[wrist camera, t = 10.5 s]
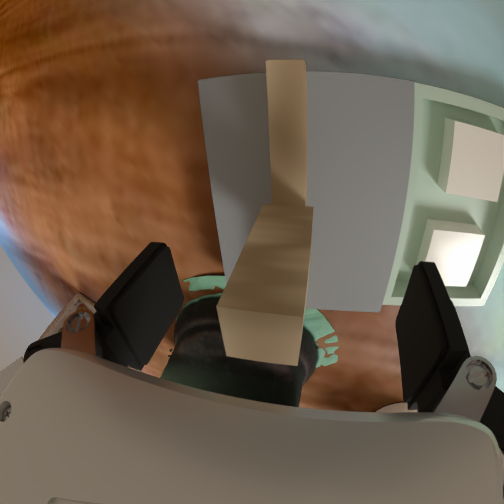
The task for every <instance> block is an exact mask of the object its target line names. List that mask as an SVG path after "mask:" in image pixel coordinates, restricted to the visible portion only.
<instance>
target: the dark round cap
mask: <svg viewBox="0 0 504 504" xmlns="http://www.w3.org/2000/svg"><path fill="white" fill-rule="evenodd" d="M188 280H189V281H190V286H189V290H190V291H198V290H205V289H212V290H213V289H214V288H215V286H218V287H219V288H221V289H223V290H224V289H225V287H226V279H225V276H201V277H193V278H189V279H186V280H183V281H184V282H187V281H188ZM221 295H222V293H217V294H213V295H206V296H201V297H200V298H197V299H195V300H192V301H190V302H188V303H187V304H186V305H184V308H183V309H182V311H181V312H180V313H179V315H178V316H177V318H176V325H175V330H174V343H175V348H174V350H173V352H172V355H168V357H170V359H169V360H168V363H167V366H166V367H165V369H164V371H163V373H162V375H161V377H160V378H161V379H164V380H168V381H171V382H175V383H178V384H182V385H185V386H189V387H193V388H197V389H201V390H205V391H209V392H213V393H218V394H222V395H227V396H232V397H237V398H242V399H247V400H252V401H258V402H264V403H271V404H277V405H284V406H292V407H299V402H300V397H301V390H302V385H304V384H305V383H306V382H307V381H308V379H309V378H310V376H311V375H312V374H313V372H314V371H315V368H316V367H320V365H322V366H327V365H330V364H332V363H335V362H337V359H338V356H337V355H335V354H334V355H331V356H330V357H329V358H325V357H324V355H325V350H327V351H328V352H327V354H333V353H334V351H335V350H336V349H337V348H339V347H338V346H335V347H327V348H325V350H323V349H321V348H318V344H319V343H317V344H315V341H316V340H318V339H319V338H321V337H323V336H325V335H327V334H330V333H333V332H334V329H333V328H332V326H331V325H330V324H329V322H328V321H327V320H326V318H325V317H324V316H323V314H322V313H320V312H319V311H318V310H317V309H310V308H305V315H304V323H303V331H302V338H301V346H300V353H299V359H298V366H293V365H284V364H276V363H268V362H261V361H254V360H247V359H241V358H235V357H229V356H227V355H226V351H225V346H224V342H223V337H222V332H221V327H220V322H219V317H218V312H217V307H216V306H217V304H218V302H219V300H220V298H221ZM337 341H338V338H337V336H333V337H331V338H328V339H327V340H325V343H334V342H337ZM171 351H172V349H170V352H171Z"/></svg>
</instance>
